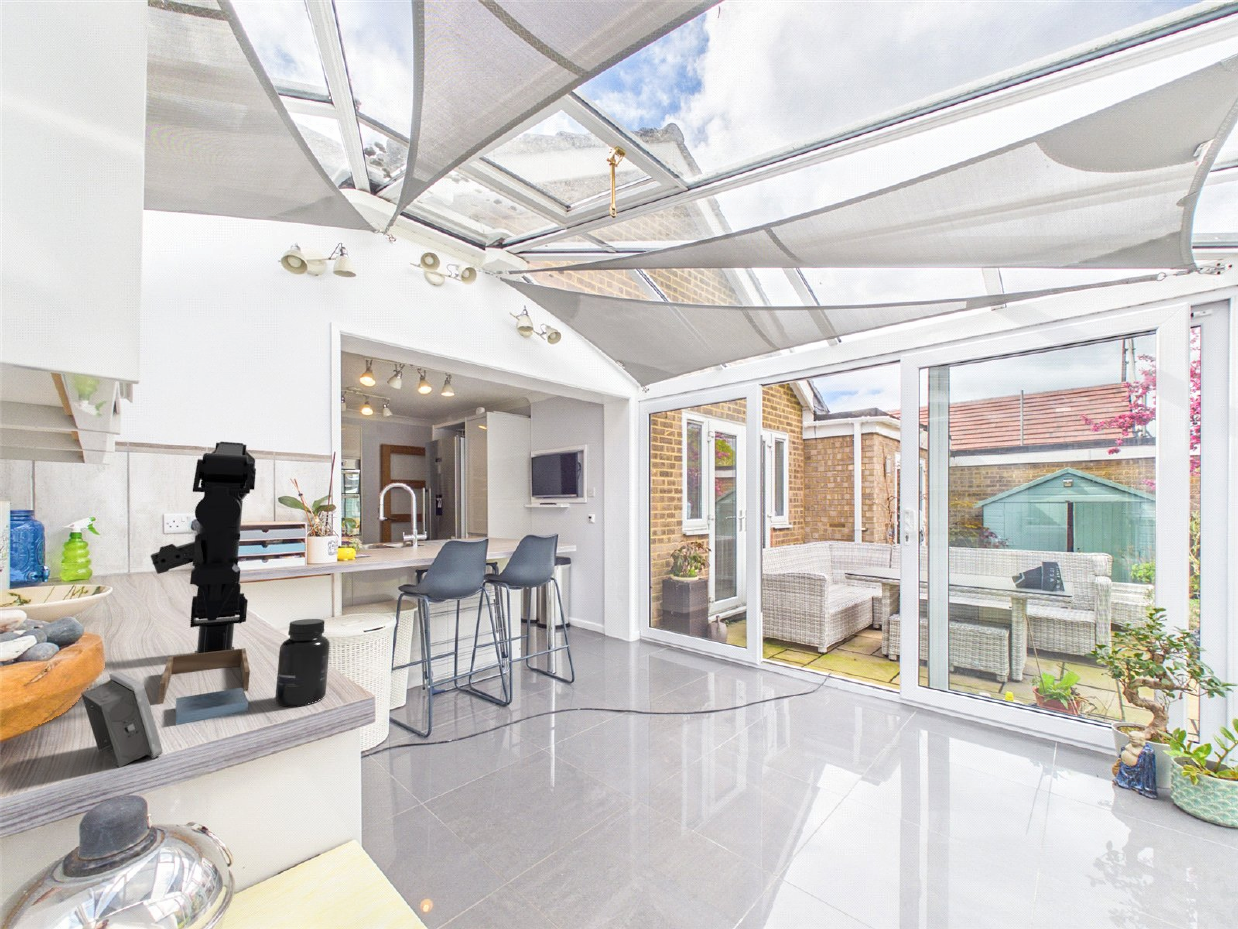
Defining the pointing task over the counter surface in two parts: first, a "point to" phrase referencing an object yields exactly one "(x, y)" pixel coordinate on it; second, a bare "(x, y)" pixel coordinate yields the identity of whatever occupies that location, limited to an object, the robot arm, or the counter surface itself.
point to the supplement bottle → (303, 664)
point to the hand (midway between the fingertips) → (211, 620)
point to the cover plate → (210, 705)
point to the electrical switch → (122, 720)
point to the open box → (204, 666)
